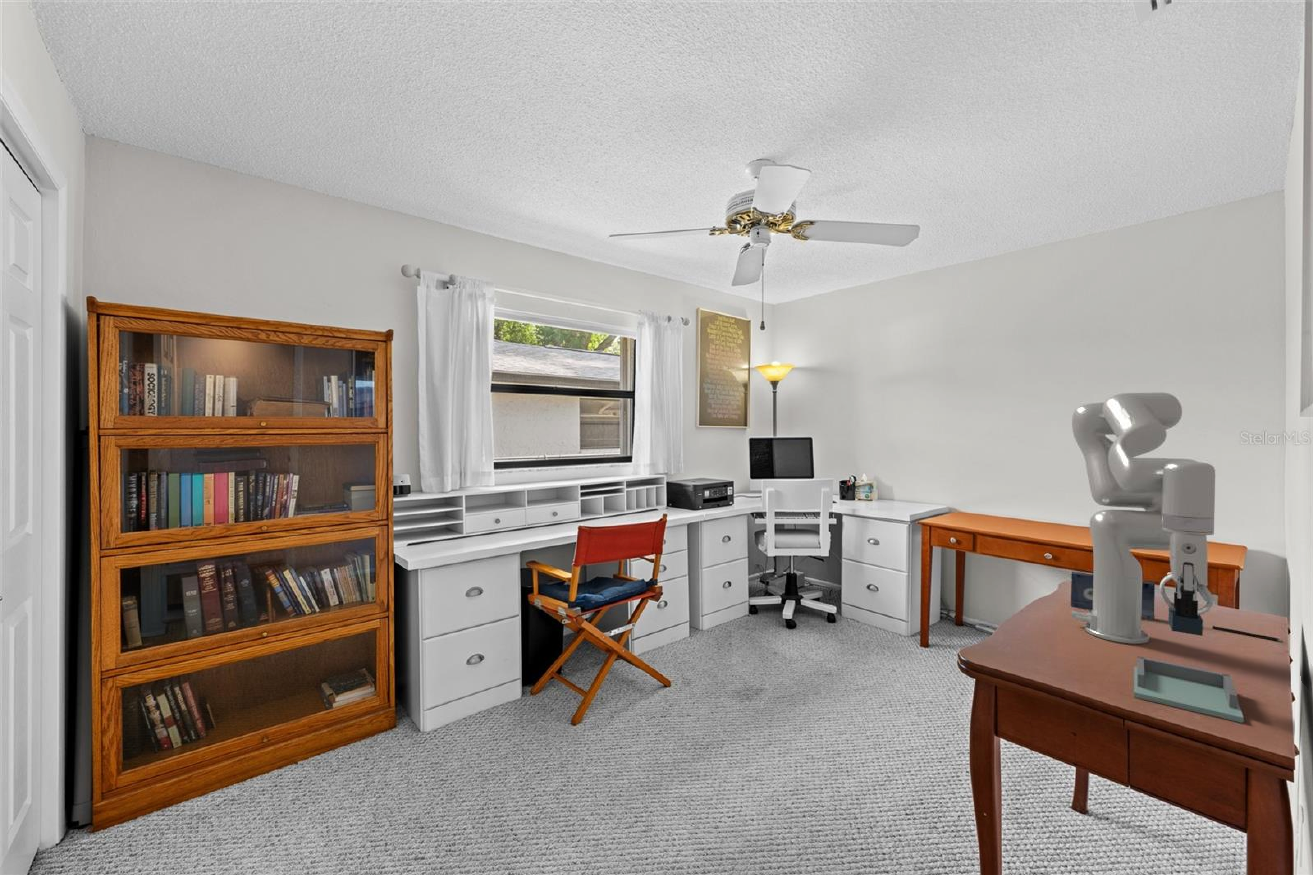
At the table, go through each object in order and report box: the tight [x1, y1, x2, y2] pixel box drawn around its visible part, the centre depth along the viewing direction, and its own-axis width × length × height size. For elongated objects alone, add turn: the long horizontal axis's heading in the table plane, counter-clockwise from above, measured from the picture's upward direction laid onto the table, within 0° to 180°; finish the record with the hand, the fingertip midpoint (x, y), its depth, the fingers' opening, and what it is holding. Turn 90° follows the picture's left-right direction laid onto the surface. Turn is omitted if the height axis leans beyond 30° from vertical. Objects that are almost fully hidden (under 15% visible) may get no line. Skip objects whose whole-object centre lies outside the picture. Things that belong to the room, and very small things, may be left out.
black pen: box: [1212, 625, 1284, 643], centre depth 142 cm, size 12×1×1 cm, turn 42°
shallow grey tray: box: [1133, 656, 1245, 724], centre depth 112 cm, size 15×15×4 cm
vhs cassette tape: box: [1070, 570, 1156, 621], centre depth 159 cm, size 18×3×10 cm, turn 49°
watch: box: [1158, 573, 1216, 637], centre depth 112 cm, size 6×8×11 cm
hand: (1185, 615), depth 112 cm, fingers closed on watch, 3 cm apart
